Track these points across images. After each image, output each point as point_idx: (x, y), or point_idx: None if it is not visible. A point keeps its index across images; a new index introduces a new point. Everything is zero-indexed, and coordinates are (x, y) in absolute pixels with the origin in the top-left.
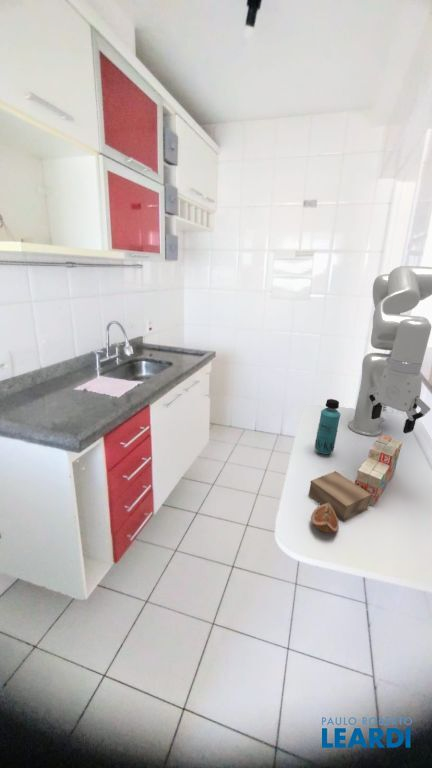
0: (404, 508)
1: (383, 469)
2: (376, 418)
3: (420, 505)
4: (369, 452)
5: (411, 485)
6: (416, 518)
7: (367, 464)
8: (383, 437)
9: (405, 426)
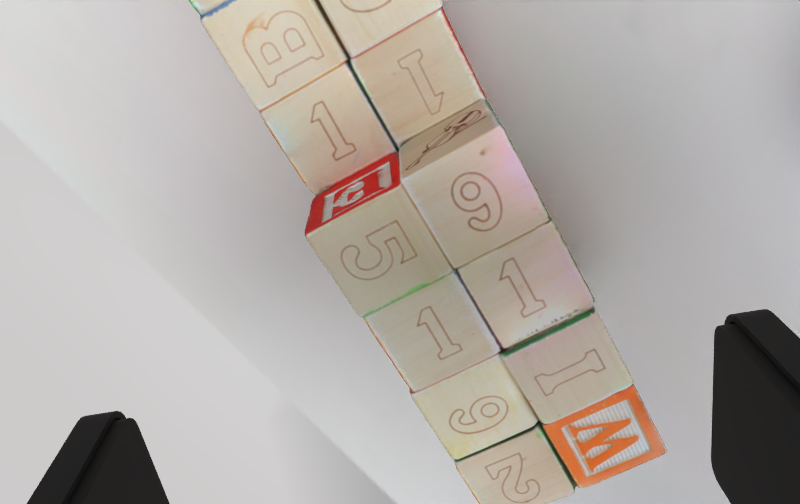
0: (158, 125)
1: (268, 78)
2: (713, 398)
3: (163, 244)
4: (493, 113)
5: (335, 349)
6: (63, 119)
7: None
8: (623, 434)
9: (54, 500)
